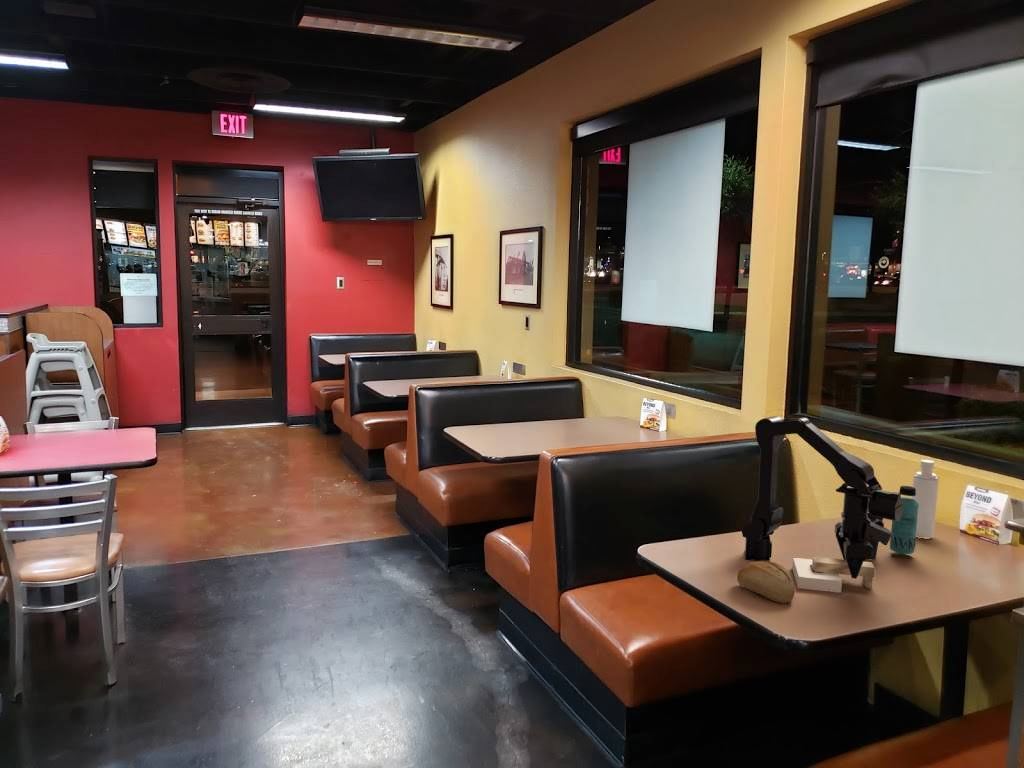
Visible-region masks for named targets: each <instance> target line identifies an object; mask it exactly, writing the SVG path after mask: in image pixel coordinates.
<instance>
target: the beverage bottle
mask: <svg viewBox="0 0 1024 768" xmlns="http://www.w3.org/2000/svg"><path fill="white" fill-rule="evenodd" d="M898 493H901V499H902V502H903V505H904V506H903V513H902V516H901V519H900V520H899V521H893V520H891V528H890V532H891V533H892V536H891V538H890V540H889V549H890V550H891V551H892V552H894V553H897V554H898V553H899V554H902V555H912V554H913V553H914V552H915V550H916V540H917V538H916V529H917V517H918V507H919V503H918V502H917V501H916V500H915V499H913V498H912V496H915V495H916V489H915V488H914V487H913V486H910V485H902V486H900V487H899V491H898Z"/></svg>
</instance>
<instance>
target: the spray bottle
mask: <svg viewBox="0 0 1024 768" xmlns="http://www.w3.org/2000/svg"><path fill="white" fill-rule="evenodd" d="M934 468H935V461H934V460H929V459H920V471H917V472H916V473H915V474H913V478H912V479H913V480H912V481H913V482H912V487H914V488H915V489H916V495H915V496H911V498H913V499H915V500H916V501H917V502H918V503H919V507H918V517H917V529H916V536H918V537H933V538H934V536H935V522H936V511H937V501H938V492H939V481H940V480H939V478H940V477H939V476H938V475H937V474H936V473H933V469H934Z"/></svg>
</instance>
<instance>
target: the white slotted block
mask: <svg viewBox="0 0 1024 768" xmlns="http://www.w3.org/2000/svg"><path fill="white" fill-rule="evenodd" d="M812 561H813V559H811V558H801V557H800V558H799V557H793V558H792V567H791V568H792V572H793V575H794V579H795V582H796V586H797V588H798V589H801V588H802V590H803V589H804V590H813V591H819V592H829V591H830V592H831V593H838V592H839V594H841V593H842V587H843V586H842V585H843V584H842V583H843V581H842V579H841V576H840V574H835V573H825V572H820V573H816V572H813V567H812ZM830 592H829V593H830Z"/></svg>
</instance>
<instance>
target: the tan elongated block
mask: <svg viewBox="0 0 1024 768" xmlns="http://www.w3.org/2000/svg"><path fill="white" fill-rule="evenodd" d="M812 560H813V561H812V567H813V572H816V573H820V572H825V573H835V574H839V575H845V576H851V574H850V570H849V567H848V564H847V561H846V560H844V559H843V558H841V559H839V558H831V557H822V556H812ZM875 569H876V568H875V566H874V564H873V563H872V562H871V561H864V562H863V564H862V566H861V569H860V571H859V574H858V576H857V577H862V578H861V579H862V581H861V584H863V587H864V586H865V587H866V588H865V587H864V588H865V589H871V588H872V589H873V579H874V578H875Z"/></svg>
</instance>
